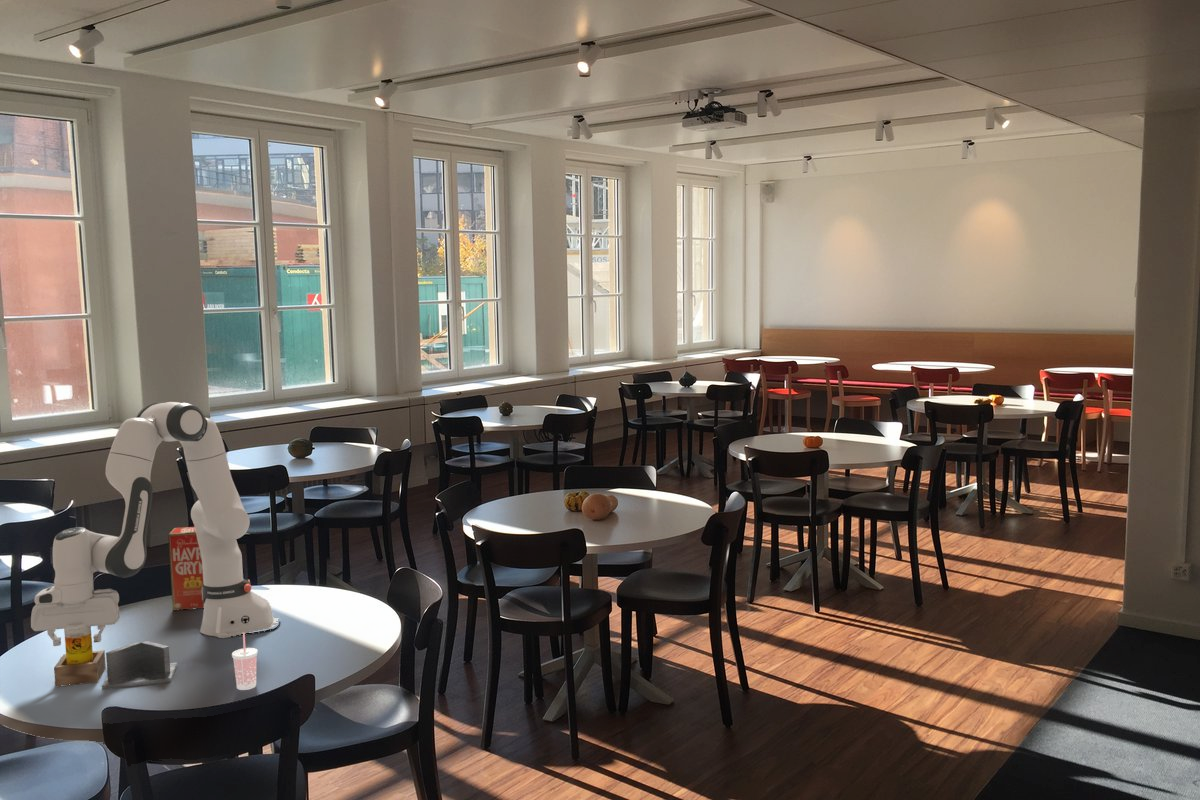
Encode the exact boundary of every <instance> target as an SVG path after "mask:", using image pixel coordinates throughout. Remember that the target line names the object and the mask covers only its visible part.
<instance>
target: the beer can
mask: <svg viewBox="0 0 1200 800" xmlns="http://www.w3.org/2000/svg"><path fill="white" fill-rule="evenodd" d="M63 631H64V632H63V633H64V643H65V645H64V646H65V654H66V660H67V665H70V664H80V663H89V662H93V640H92V638H93V637H92V626H90V627H86V626H85V625H84V624H83V623H82V624H77V625H67V627H66V628H65V629H63Z"/></svg>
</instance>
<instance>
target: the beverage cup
mask: <svg viewBox="0 0 1200 800" xmlns="http://www.w3.org/2000/svg"><path fill="white" fill-rule="evenodd" d="M242 642H243V646H242V647H243V648H239V649H236V650H234V651H232V653H231V658H233V659H232V660H233V668H234V674H235V675H234V677H235V683H236V689H237V690H240V691H247V690H251V689H252V690H253V689H254V688H256V687H257V660H258V659H257V655H258V652H259V651H258V649H257V648H254V647H246V635H245V633H243V635H242Z"/></svg>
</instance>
